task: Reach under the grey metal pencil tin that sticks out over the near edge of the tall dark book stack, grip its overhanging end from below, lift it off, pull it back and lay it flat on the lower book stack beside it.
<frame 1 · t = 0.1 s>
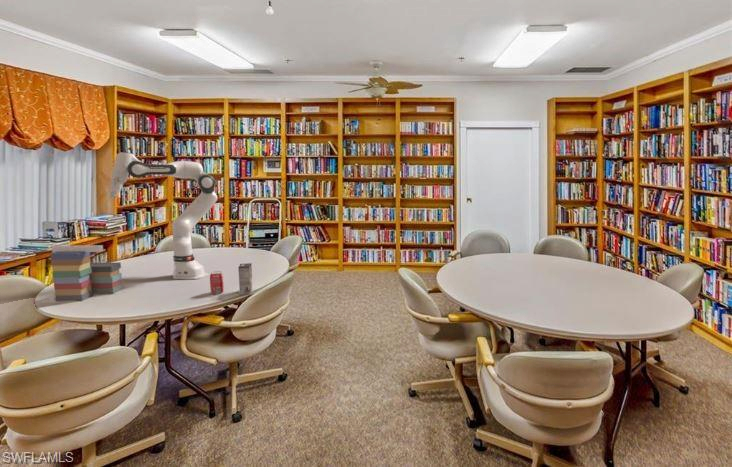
hand: (112, 199, 248), 52 cm above the table, tool tilted 20°, fingers open, 8 cm apart
tall book stack: (75, 298, 222), on the table
short book stack: (103, 291, 234), on the table
coffee box: (246, 292, 235), on the table
soda can: (217, 293, 233), on the table
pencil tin: (78, 251, 218), point 26 cm above the table, touching tall book stack
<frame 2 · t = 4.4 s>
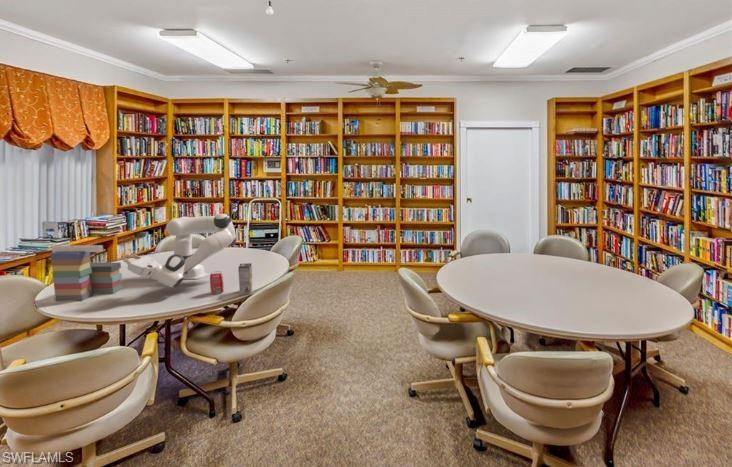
hand: (128, 257, 221), 22 cm above the table, tool pointing upward, fingers open, 8 cm apart
nothing on the table moved.
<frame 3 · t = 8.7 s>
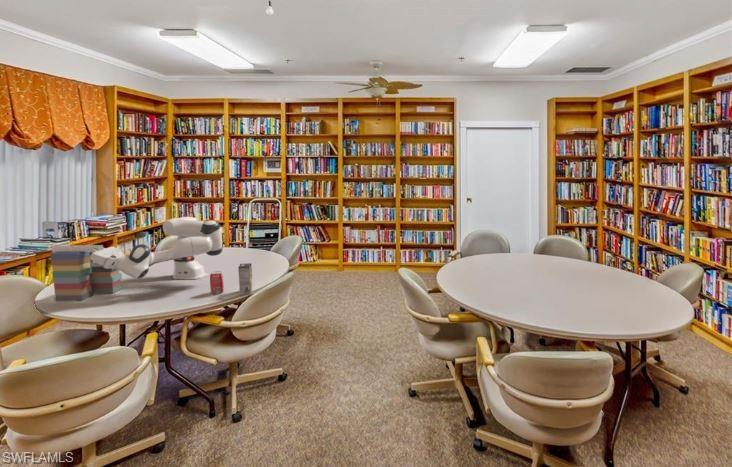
hand: (92, 247, 218), 28 cm above the table, tool pointing upward, fingers closed on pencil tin, 3 cm apart
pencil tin: (78, 251, 218), point 26 cm above the table, touching gripper, tall book stack
everything else where it was.
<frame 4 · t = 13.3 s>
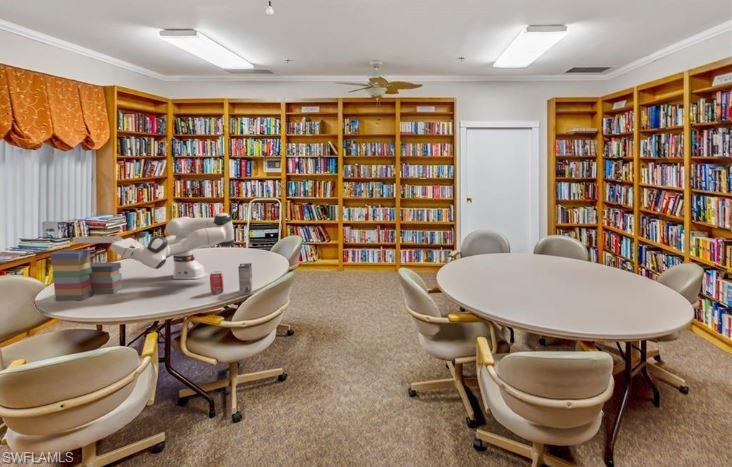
hand: (112, 238, 224), 32 cm above the table, tool pointing upward, fingers closed on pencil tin, 3 cm apart
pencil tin: (97, 242, 224), point 30 cm above the table, touching gripper
everything else where it was.
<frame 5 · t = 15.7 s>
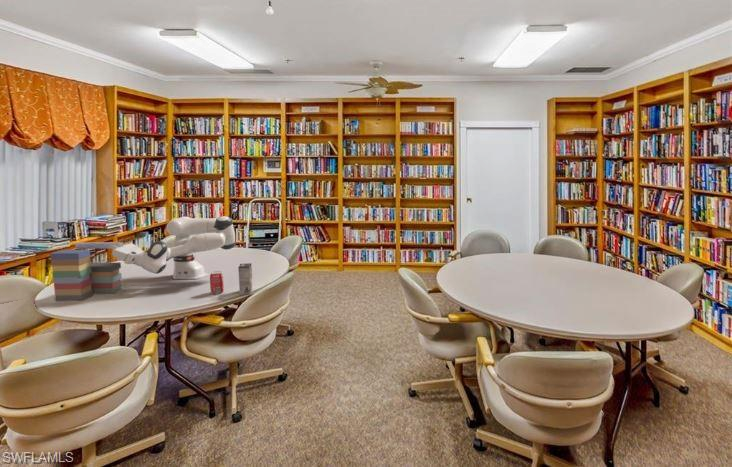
hand: (113, 244, 231), 28 cm above the table, tool pointing upward, fingers closed on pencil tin, 3 cm apart
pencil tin: (99, 248, 230), point 26 cm above the table, touching gripper
everything else where it was.
when the fingers open (19 cm above the table, at t = 17.8 s): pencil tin drops 1 cm, resting on short book stack.
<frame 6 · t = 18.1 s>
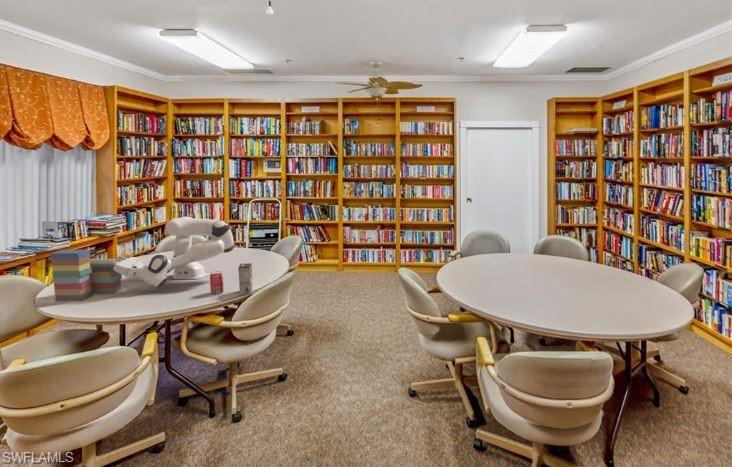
hand: (114, 258, 232), 19 cm above the table, tool pointing upward, fingers open, 7 cm apart
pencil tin: (101, 264, 232), point 16 cm above the table, touching short book stack
everything else where it was.
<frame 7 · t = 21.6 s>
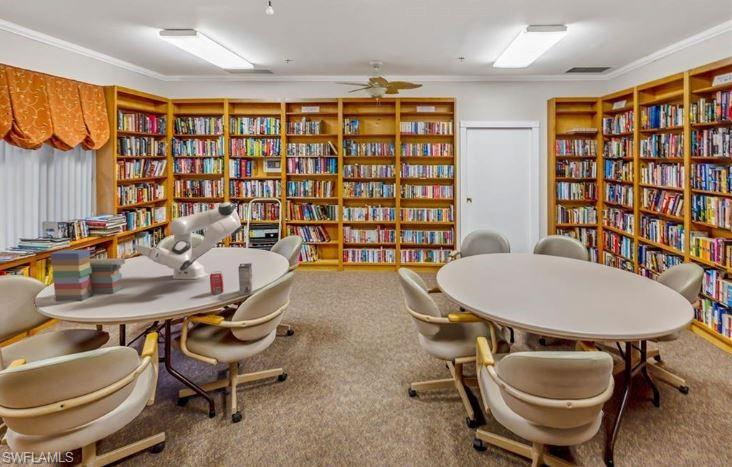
hand: (138, 246, 230), 27 cm above the table, tool pointing upward, fingers open, 8 cm apart
nothing on the table moved.
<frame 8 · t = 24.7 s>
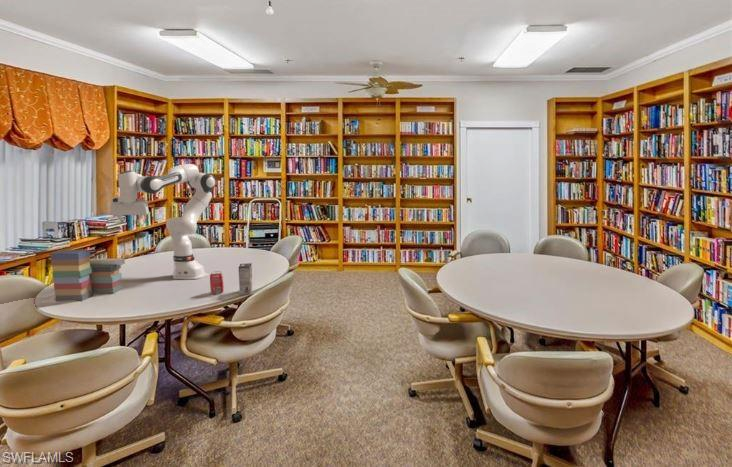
hand: (130, 222, 237), 39 cm above the table, tool pointing down, fingers open, 8 cm apart
nothing on the table moved.
at the end: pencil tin inside the target area on the short book stack (0.1 cm from its centre), point 16.0 cm above the short book stack's base; the gripper is holding nothing; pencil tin tilted 0° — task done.
